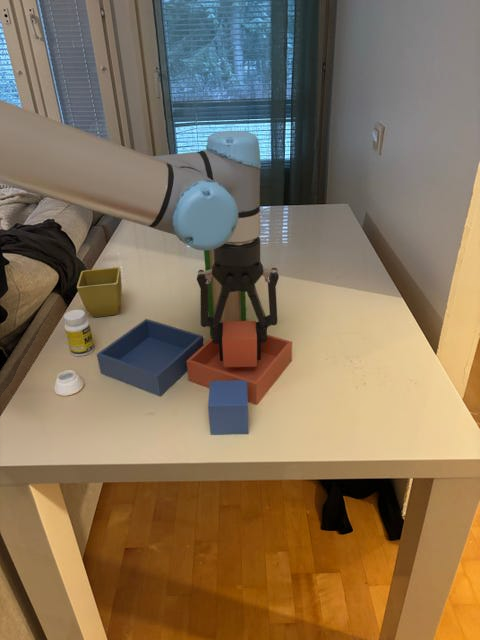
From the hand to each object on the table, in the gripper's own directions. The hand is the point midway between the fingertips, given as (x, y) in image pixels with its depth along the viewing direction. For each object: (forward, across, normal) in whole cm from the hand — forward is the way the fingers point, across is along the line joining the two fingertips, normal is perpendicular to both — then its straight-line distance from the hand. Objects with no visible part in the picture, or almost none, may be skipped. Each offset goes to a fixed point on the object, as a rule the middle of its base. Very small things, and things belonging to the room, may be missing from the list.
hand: (240, 355), depth 86 cm
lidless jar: (+4, +31, +4) cm, 32 cm away
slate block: (+3, +2, +13) cm, 14 cm away
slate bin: (+3, +17, -3) cm, 17 cm away
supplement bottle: (+4, +32, -8) cm, 33 cm away
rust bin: (+3, 0, 0) cm, 3 cm away
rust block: (0, 0, 0) cm, 0 cm away
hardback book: (+4, +3, -19) cm, 20 cm away
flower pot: (+4, +31, -24) cm, 39 cm away
